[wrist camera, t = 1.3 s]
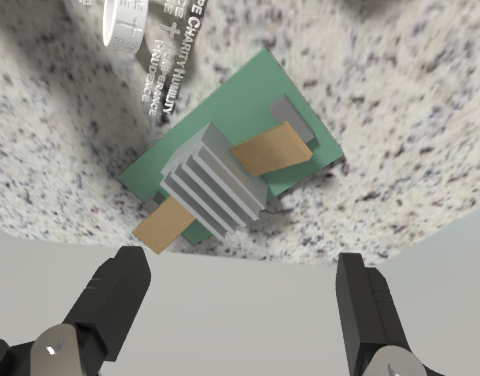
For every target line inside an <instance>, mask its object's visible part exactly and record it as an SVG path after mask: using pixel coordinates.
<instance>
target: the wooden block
mask: <svg viewBox="0 0 480 376" xmlns="http://www.w3.org/2000/svg"><path fill="white" fill-rule="evenodd" d="M229 151H230V153H231V154H232V155H233V156H234V157H235V158H236V159H237V160H238V161H239V162H240V163H241V165H242V166H243V167H244V168H245V169H246V170H247V171H248V172H249V173H250V174H251V176H252V177H254V176H257V175H261V174H264V173H267V172H271V171H274V170H278V169H281V168H284V167H288V166H291V165H294V164H298V163H301V162H304V161H308V160H310V158H311V156H312V155H313V153H312V152H311V151H310V149H309V148H308V147H307V146H306V144H305V143H304V142H303V141H302V139H301V138H300V137H299V136H298V134H297V133H296V132H295V130H294V129H293V128H292V127H291V125H290V124H289V123H288V122H287V120H285V121H283V122H281V123H279V124H277V125H274V126H272V127H270V128H268V129H266V130H264V131H262V132H259V133H257V134H255V135H253V136H251V137H249V138H247V139H244V140H242V141H240V142H238V143H236V144H234V145H232V146H231V147H230V149H229Z"/></svg>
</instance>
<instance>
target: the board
mask: <svg viewBox="0 0 480 376" xmlns="http://www.w3.org/2000/svg"><path fill="white" fill-rule="evenodd" d="M285 120H287V122H288V123H289V124H290V125H291V127H292V128H293V129H294V130H295V132H296V133H297V134H298V136H299V137H300V138H301V139H302V141H303V142H304V143H305V144H306V146H307V147H308V148H309V149H310V151H311V152H312V153H313V155H312V156H311V158H310V160H308V161H304V162H301V163H298V164H294V165H291V166H288V167H284V168H281V169H278V170H274V171H271V172H267V173H264V174H261V175H257V176H254V177H252V176H251V174H250V173H249V172H248V171H247V170H246V169H245V168H244V167H243V166H242V165H241V163H240V162H239V161H238V160H237V159H236V158H235V157H234V156H233V155H232V154H231V153H230V151H229V149H230V147H231V146H232V145H234V144H236V143H238V142H240V141H242V140H244V139H247V138H249V137H251V136H253V135H255V134H257V133H259V132H262V131H264V130H266V129H268V128H270V127H272V126H274V125H277V124H279V123H281V122H283V121H285ZM343 155H344V154H343V151H342V149H341V147H340V146H339V145H338V143H337V142H336V140H335V139H334V138H333V136H332V135H331V134H330V132H329V131H328V130H327V128H326V127H325V126H324V124H323V123H322V121H321V120H320V119H319V117H318V116H317V115H316V113H315V112H314V111H313V109H312V108H311V107H310V105H309V104H308V102H307V101H306V100H305V98H304V97H303V96H302V94H301V93H300V92H299V90H298V89H297V87H296V86H295V85H294V83H293V82H292V81H291V79H290V78H289V77H288V75H287V74H286V73H285V71H284V70H283V68H282V67H281V66H280V64H279V63H278V62H277V60H276V59H275V58H274V56H273V55H272V54H271V52H270V51H269V49H268V48H267V47H266V46H265V47H264V48H263V49H262V50H261V51H259V52H258V53H257V54H256V55H255V56H254V57H253V58H251V59H250V60H249V61H248V62H247V63H246V64H245V65H243V66H242V67H241V68H240V69H239V70H238V71H237V72H235V73H234V74H233V75H232V76H231V77H230V78H229V79H228V80H226V81H225V82H224V83H223V84H222V85H221V86H220V87H218V88H217V89H216V90H215V91H214V92H213V93H212V94H210V95H209V96H208V97H207V98H206V99H205V100H204V101H202V102H201V103H200V104H199V105H198V106H197V107H196V108H195V109H193V110H192V111H191V112H190V113H189V114H188V115H187V116H185V117H184V118H183V119H182V120H181V121H180V122H179V123H177V124H176V125H175V126H174V127H173V128H172V129H171V130H169V131H168V132H167V133H166V134H165V135H164V136H163V137H162V138H160V139H159V140H158V141H157V142H156V143H155V144H154V145H152V146H151V147H150V148H149V149H148V150H147V151H146V152H144V153H143V154H142V155H141V156H140V157H139V158H138V159H136V160H135V161H134V162H133V163H132V164H131V165H130V166H129V167H127V168H126V169H125V170H124V171H123V172H122V173H121V174H120V175H119V176H118V177H117V179H118V180H119V181H120V182H122V183H123V184H124V185H125V186H126V187H127V188H128V189H130V190H131V191H132V192H133V193H134V194H135V195H136V196H137V197H139V198H140V199H141V200H142V201H143V202H144V205H143V208H144V209H145V210H146V211H147V212H148V213H151V212H153V211H154V210H155V209H156V208H157V207H158V206H159V205H160V204H161V203H162V202H163V201H164V200H165V199H166V198H167V197H168V196H169V195H171V196H172V197H174V198H175V199H176V200H177V201H178V202H179V203H180V204H181V205H182V206H183V207H184V208H185V209H186V210H188V211H189V212H190V213H191V214H192V215H193V216H194V217H195V218H196V219H195V220H194V221H193V222H192V223H191V224H189V225H188V226H187V227H186V228H185V229H184V230H183V231H182V232H181V233H180V234H181V235H182V236H183V237H184V238H185V239H186V240H187V241H189V242H190V243H191V244H192V245H193V246H194V245H195V244H197V243H199V242H200V241H202V240H204V239H205V238H207V237H209V236H210V235H212V234H213V235H215V236H216V237H217V238H218V239H219V240H220V241H221V240H223V239H224V238H225V234H226V232H227V231H228V232H229V233H230V234H233V233H235V232H236V227H237V225H238V224H239V225H240V226H241V227H242V228H243V227H245V226H247V222H248V219H249V218H250V217H251V218H252V219H253V220H254V221H255V220H257V219H259V214H260V211H262V210H264V209H265V208H266V202H267V201H268V200H270V199H272V198H273V197H275V196H277V195H278V194H280V193H282V192H283V191H285V190H287V189H288V188H290V187H292V186H293V185H295V184H297V183H298V182H300V181H302V180H303V179H305V178H306V177H308V176H310V175H311V174H313V173H315V172H316V171H318V170H320V169H321V168H323V167H325V166H326V165H328V164H330V163H331V162H333V161H335V160H336V159H338V158H340V157H341V156H343Z"/></svg>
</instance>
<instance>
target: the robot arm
mask: <svg viewBox="0 0 480 376" xmlns="http://www.w3.org/2000/svg"><path fill="white" fill-rule="evenodd" d="M150 281H151V272H150V268H149V266H148V262H147V259H146V257H145V253H144V250H143V248H142V247H141V246H122V247H121V248H120V249H119V251H118V252H117V254H116V256H115V257H114V258H109V259H108V260H107V261H105V262H104V263H103V264H102V265H101V266H100V267H99V268H98V269H97V271H96V272H95V274H94V275H93V277H92V280H90V281H89V283H88V284H87V286H86V289H84V290H83V292H82V293H81V295H80V297H79V298H78V300H77V301H76V303H75V304H74V306H73V307H72V309H71V310H70V312H69V313H68V315H67V316H66V318H65V319H64V321H63V322H62V323H61V324H59V325H56V326H53V327H51V328H49V329H47V330H46V331H45V332H43V333H42V334H41V335H40V336H39V337H38V338H37V339H36V341H32V342H28V343H24V344H20V345H16V346H12V347H9V345H8V344H7V343H6V342H5V341H4V340H2V339H0V376H102V375H101V371H100V368H101V366H102V364H103V362H104V361H111V362H115V361H116V359H117V356H118V354H119V352H120V350H121V347H122V345H123V343H124V341H125V339H126V336H127V334H128V332H129V330H130V328H131V325H132V323H133V321H134V319H135V316H136V314H137V312H138V310H139V308H140V305H141V303H142V301H143V298H144V296H145V294H146V292H147V290H148V287H149V285H150ZM336 296H337V302H338V308H339V314H340V320H341V326H342V331H343V338H344V343H345V349H346V355H347V361H348V367H349V373H350V376H444V375H442V374H439V373H437V372H435V371H433V370H431V369H429V368H428V367H426V366H425V365H424V364H422V363H421V362H420V361H419V359H418V358H417V357H416V356H415V355H414V354H413V353H412V351H411V349H410V348H409V345H408V343H407V340H406V337H405V334H404V331H403V328H402V325H401V322H400V319H399V316H398V314H397V311H396V308H395V305H394V302H393V299H392V296H391V294H390V290H389V288H388V285H387V282H386V279H385V278H384V277H383V275H382V274H381V273H380V272H379V271H378V270H377V269H376V268H370V267H365V266H364V262H363V259H362V256H361V254H360V253H339V259H338V266H337V274H336Z"/></svg>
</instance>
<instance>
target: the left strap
mask: <svg viewBox="0 0 480 376" xmlns="http://www.w3.org/2000/svg"><path fill="white" fill-rule="evenodd" d="M195 219H196V218H195V217H194V216H193V215H192V214H191V213H190V212H189V211H188V210H186V209H185V208H184V207H183V206H182V205H181V204H180V203H179V202H178V201H177V200H176V199H175V198H174V197H172V196H171V195H169V196H168V197H167V198H166V199H165V200H164V201H163V202H162V203H161V204H160V205H159V206H158V207H157V208H156V209H155V210H154V211H153V212H151V213H150V214H149V215H148V216H147V217H146V218H145V219H144V220H143V221H142V222H141V223H140V224H139V225H138V226H137V227H136V228H135V229H134V230H133V231H132V234H133V235H134V236H136V237H137V238H138V239H139V240H140V241H142V242H143V243H144V244H145V245H147V246H148V247H149V248H150V249H151V250H153V251H154V252H155V253H156V254H158V255H159V254H160V253H161V252H162V251H163V250H164V249H165V248H166V247H167V246H168V245H169V244H170V243H171V242H172V241H173V240H174V239H175V238H176V237H177V236H178V235H179V234H180V233H181V232H182V231H183V230H184V229H185V228H186V227H187V226H188V225H189V224H191V223H192V222H193V221H194V220H195Z"/></svg>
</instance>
